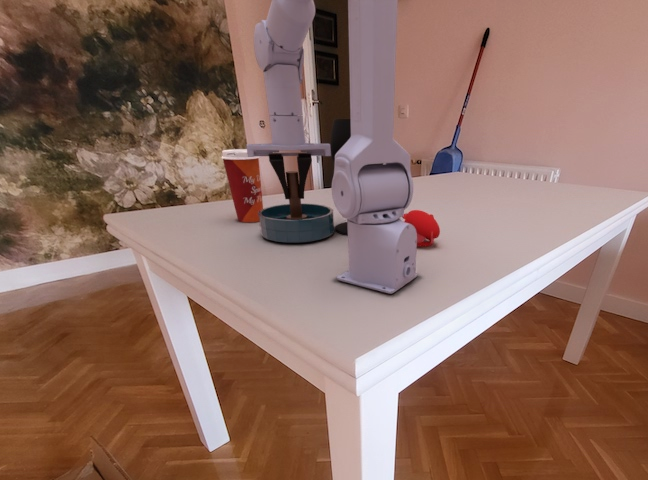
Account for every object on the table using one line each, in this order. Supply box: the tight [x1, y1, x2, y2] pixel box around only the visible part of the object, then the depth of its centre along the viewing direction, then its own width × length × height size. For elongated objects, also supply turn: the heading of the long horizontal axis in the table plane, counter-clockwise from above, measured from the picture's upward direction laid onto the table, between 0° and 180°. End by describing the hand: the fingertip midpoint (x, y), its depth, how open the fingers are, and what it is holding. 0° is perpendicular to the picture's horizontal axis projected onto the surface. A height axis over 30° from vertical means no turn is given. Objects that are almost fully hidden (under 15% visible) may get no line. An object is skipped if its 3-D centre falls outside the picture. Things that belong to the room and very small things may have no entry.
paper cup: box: [220, 148, 264, 223], centre depth 82 cm, size 8×8×14 cm
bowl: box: [258, 202, 335, 244], centre depth 75 cm, size 14×14×4 cm
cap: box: [401, 209, 441, 248], centre depth 70 cm, size 8×6×6 cm
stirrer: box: [285, 170, 307, 220], centre depth 72 cm, size 4×4×9 cm
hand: (294, 198), depth 72 cm, fingers closed on stirrer, 2 cm apart
